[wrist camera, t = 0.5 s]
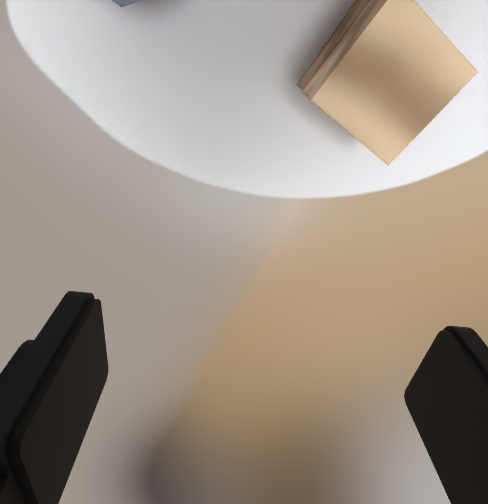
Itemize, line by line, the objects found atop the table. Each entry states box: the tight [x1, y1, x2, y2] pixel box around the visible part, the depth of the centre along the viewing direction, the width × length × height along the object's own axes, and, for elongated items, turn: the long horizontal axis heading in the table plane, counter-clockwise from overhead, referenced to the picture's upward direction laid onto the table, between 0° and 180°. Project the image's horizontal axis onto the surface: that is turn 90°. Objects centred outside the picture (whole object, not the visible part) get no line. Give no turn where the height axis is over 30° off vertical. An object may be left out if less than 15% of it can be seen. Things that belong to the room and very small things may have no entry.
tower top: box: [302, 0, 478, 165], centre depth 26 cm, size 8×8×4 cm
